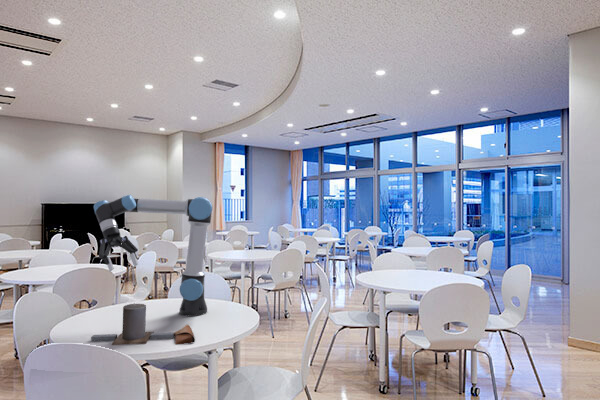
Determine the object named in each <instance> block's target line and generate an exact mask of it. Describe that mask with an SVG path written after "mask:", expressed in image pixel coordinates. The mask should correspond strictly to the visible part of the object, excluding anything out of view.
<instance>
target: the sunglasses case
mask: <svg viewBox="0 0 600 400" xmlns="http://www.w3.org/2000/svg"><path fill="white" fill-rule="evenodd" d="M174 332H175V337H174V340H175V342H174V344H175V345H177V346H178V345H185V344H184V343H188V344H192V343H191V342H194V343H195V341H196V338H195V335H194V332H193V330H192V328H191V326H190V324H185V325H184V326H183V327H182V328H180V329H178V330H177V331H174Z"/></svg>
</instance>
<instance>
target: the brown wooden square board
mask: <svg viewBox="0 0 600 400" xmlns="http://www.w3.org/2000/svg"><path fill="white" fill-rule="evenodd" d="M151 333H155V332H154V331H145V337H143V338H140V339H136V340H125V339H123V338H122V336H123V333H122V332H121V333H120V334H119V335H117V338H116V339H115V340H114V341H111V346H114V345H115V346H120V345H145V344H147V343H148V341H149V340H150V335H151Z"/></svg>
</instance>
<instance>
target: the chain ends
mask: <svg viewBox="0 0 600 400" xmlns="http://www.w3.org/2000/svg"><path fill="white" fill-rule="evenodd" d="M175 332H176V331H173V332H171V331H170V332H154V333H151V335H150V339H149V340H171V339H172V340H174V339H175ZM117 337H118V333H115V334H114V333H113V334H111V333H110V334H105V333H104V334H93V335H92V336H91V337H90V341H94V342H113V341H114V340H115V339H116V338H117Z"/></svg>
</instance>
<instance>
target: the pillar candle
mask: <svg viewBox="0 0 600 400" xmlns="http://www.w3.org/2000/svg"><path fill="white" fill-rule="evenodd" d="M146 312H147V305H146V304H145V303H135V302H134V303H130V304H126V305H123V307H122V332H121V333H123V336H122V338H123V339H125V340H136V339H140V338H143V337H145V332H146V319H147V318H146V317H147V313H146Z"/></svg>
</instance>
